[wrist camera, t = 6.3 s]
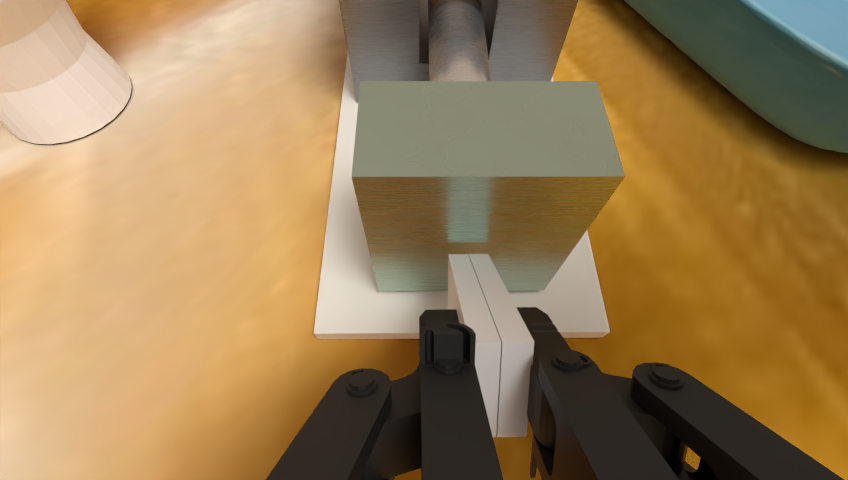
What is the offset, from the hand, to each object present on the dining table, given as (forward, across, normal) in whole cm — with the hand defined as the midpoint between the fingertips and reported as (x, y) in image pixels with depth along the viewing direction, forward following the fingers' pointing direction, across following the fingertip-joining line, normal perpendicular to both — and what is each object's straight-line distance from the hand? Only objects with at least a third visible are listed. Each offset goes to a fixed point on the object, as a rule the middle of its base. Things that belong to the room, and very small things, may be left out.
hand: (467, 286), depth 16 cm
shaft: (+10, 0, -5) cm, 11 cm away
